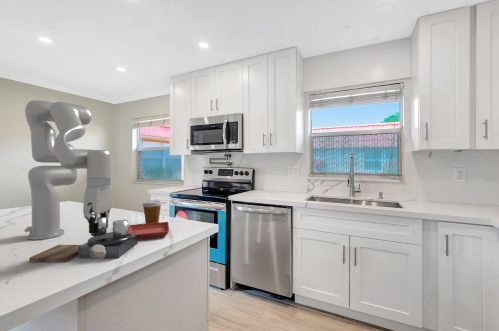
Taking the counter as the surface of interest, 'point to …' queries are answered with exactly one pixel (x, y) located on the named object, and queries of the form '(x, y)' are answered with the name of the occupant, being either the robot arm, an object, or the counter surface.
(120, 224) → the cylinder
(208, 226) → the counter surface
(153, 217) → the disposable coffee cup
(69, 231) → the counter surface
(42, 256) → the walnut board
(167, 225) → the plant saucer
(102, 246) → the scale
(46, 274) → the counter surface
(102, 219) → the cylinder
